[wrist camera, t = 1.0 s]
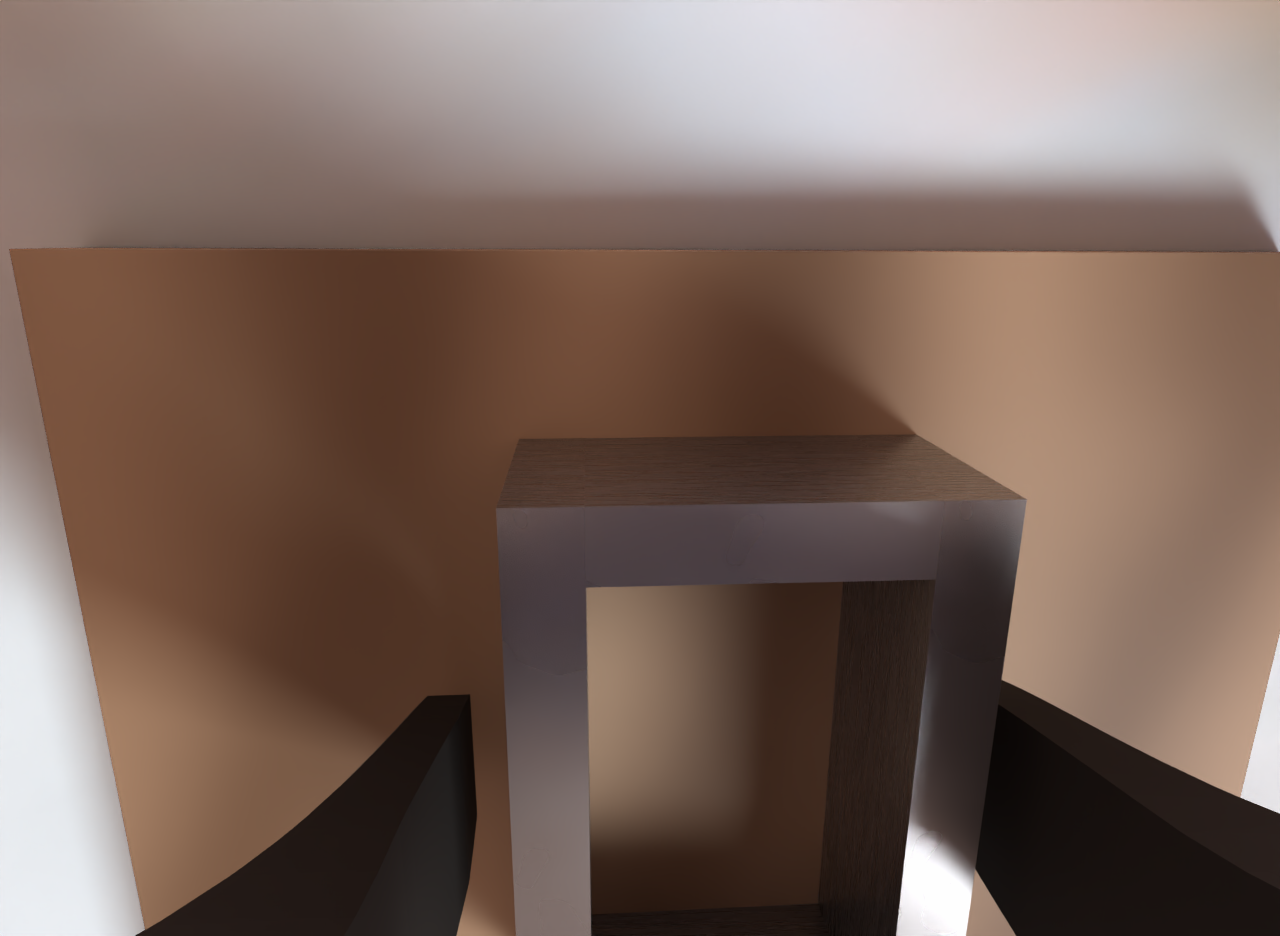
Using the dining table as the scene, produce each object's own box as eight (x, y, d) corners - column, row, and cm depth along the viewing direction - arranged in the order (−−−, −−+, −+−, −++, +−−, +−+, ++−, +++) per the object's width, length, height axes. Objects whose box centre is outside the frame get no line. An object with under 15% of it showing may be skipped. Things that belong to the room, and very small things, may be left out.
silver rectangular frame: (916, 434, 12) (1027, 499, 9) (866, 943, 14) (938, 1126, 11) (519, 438, 11) (495, 509, 8) (538, 961, 14) (525, 1154, 11)
